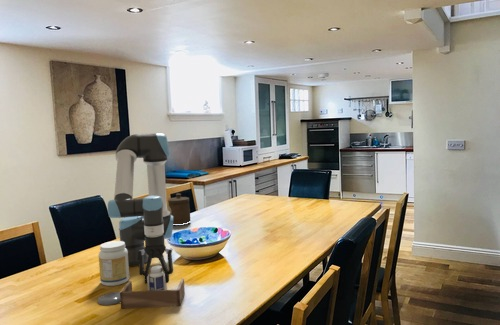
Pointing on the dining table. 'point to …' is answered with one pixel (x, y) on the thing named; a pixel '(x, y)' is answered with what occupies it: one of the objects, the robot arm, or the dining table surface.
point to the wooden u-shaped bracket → (151, 297)
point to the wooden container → (179, 209)
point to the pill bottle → (156, 278)
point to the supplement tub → (113, 263)
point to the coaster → (109, 298)
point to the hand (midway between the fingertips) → (157, 290)
